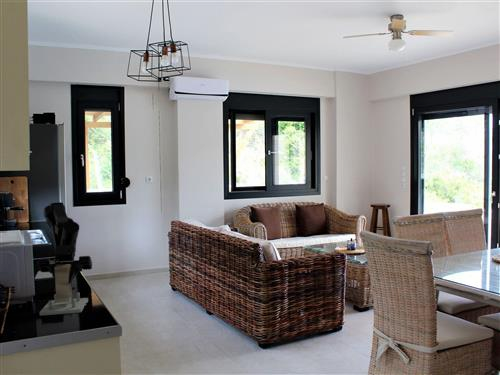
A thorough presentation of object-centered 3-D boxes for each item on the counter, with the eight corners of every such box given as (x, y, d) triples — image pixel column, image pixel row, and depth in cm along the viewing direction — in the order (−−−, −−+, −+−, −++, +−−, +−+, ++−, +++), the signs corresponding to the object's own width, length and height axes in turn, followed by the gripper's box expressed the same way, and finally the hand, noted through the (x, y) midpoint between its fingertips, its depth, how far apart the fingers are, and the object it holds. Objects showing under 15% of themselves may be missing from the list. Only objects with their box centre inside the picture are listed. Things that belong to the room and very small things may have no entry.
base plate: (50, 303, 182) (49, 292, 182) (88, 300, 184) (87, 290, 184) (39, 315, 168) (38, 303, 168) (80, 312, 170) (80, 300, 170)
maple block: (59, 299, 178) (57, 264, 177) (72, 298, 179) (70, 264, 178) (56, 302, 174) (54, 267, 173) (69, 301, 174) (67, 266, 173)
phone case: (54, 280, 221) (57, 272, 236) (54, 277, 221) (57, 269, 236) (33, 282, 219) (37, 274, 234) (33, 279, 218) (37, 271, 234)
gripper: (37, 237, 177) (29, 274, 167) (89, 234, 180) (85, 270, 170) (44, 254, 186) (37, 289, 175) (93, 251, 188) (90, 286, 178)
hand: (62, 283), depth 174 cm, fingers closed on maple block, 4 cm apart
